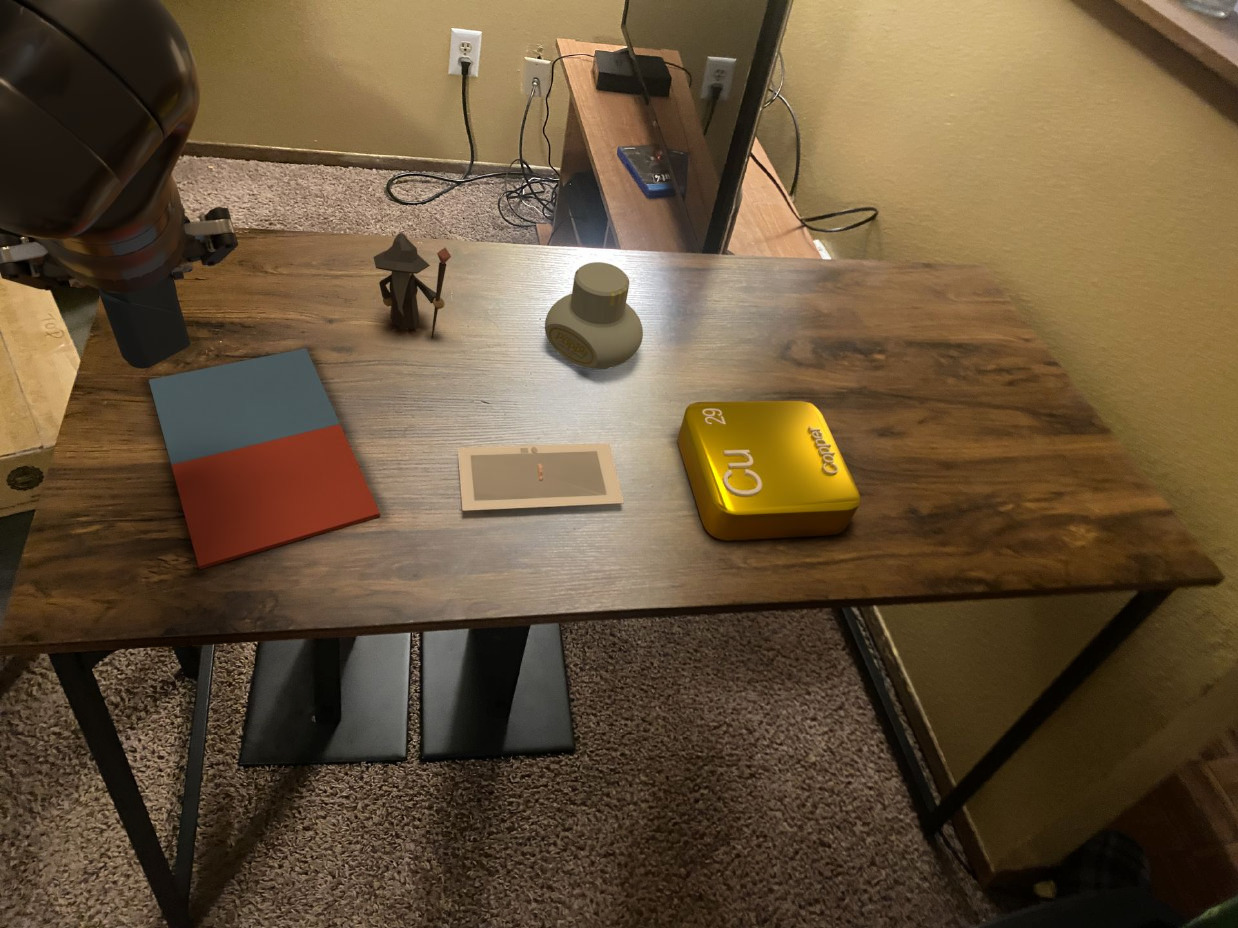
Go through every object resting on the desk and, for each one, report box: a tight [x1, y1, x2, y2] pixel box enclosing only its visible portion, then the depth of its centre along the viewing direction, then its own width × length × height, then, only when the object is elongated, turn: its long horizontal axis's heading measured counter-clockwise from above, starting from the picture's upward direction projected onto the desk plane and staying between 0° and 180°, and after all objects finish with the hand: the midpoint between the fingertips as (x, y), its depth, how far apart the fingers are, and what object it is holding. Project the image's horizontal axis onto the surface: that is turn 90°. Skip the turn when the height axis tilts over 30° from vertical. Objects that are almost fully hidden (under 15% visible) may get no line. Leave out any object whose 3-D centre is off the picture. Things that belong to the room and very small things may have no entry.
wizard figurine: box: [373, 232, 452, 339], centre depth 89 cm, size 8×6×12 cm
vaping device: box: [98, 273, 192, 370], centre depth 61 cm, size 3×5×12 cm, turn 147°
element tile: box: [677, 400, 861, 542], centre depth 83 cm, size 15×15×5 cm
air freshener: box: [544, 261, 644, 370], centre depth 91 cm, size 11×8×10 cm
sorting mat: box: [148, 347, 381, 570], centre depth 78 cm, size 15×24×1 cm, turn 29°
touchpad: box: [457, 442, 625, 512], centre depth 80 cm, size 8×15×2 cm, turn 101°
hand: (133, 272), depth 62 cm, fingers closed on vaping device, 5 cm apart
